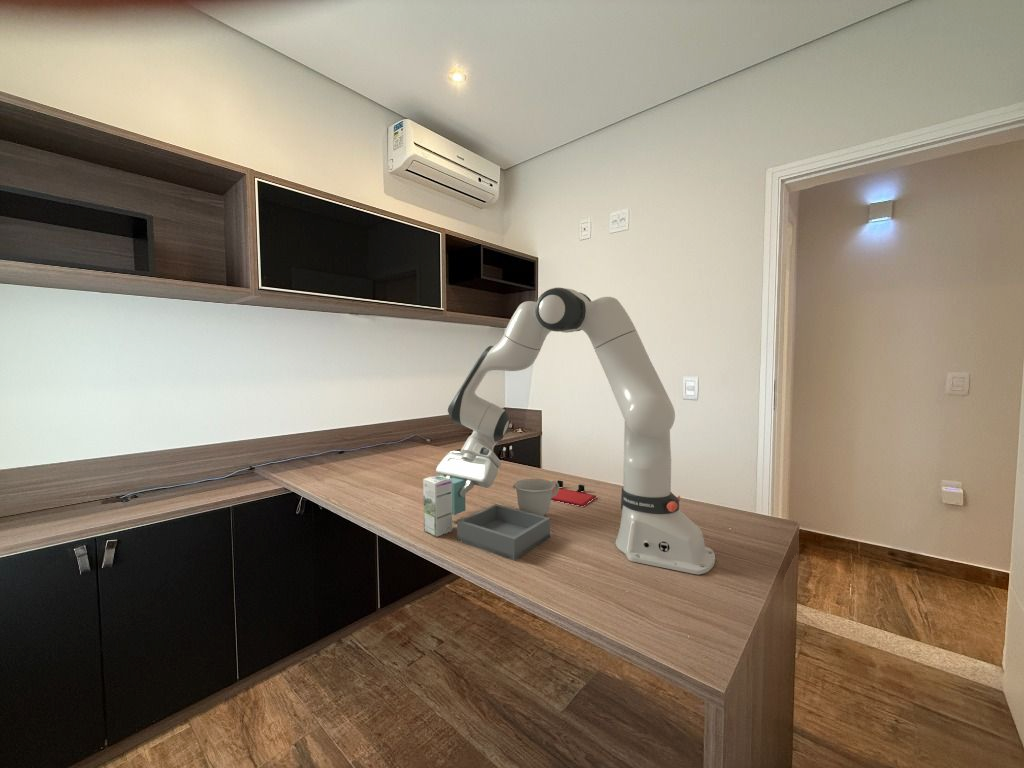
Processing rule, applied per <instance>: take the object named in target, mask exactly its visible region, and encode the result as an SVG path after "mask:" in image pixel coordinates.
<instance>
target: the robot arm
mask: <svg viewBox="0 0 1024 768" xmlns="http://www.w3.org/2000/svg"><path fill="white" fill-rule="evenodd" d="M580 331H583V332H584V333H585V334H586V335H587V337H588V338H589V340H590V343H591V345H592V347H593V349H594V352H595V354H596V356H597V358H598V360H599V363H600V365H601V367H602V370H603V371H604V374H605V377H606V378H607V381H608V383H609V385H610V386H609V387H610V388H611V391H612V393H613V395H614V398H615V400H616V403H617V405H618V407H619V410H620V412H621V414H622V417H623V419H624V433H623V434H624V435H623V436H624V438H623V444H624V445H623V480H622V481H623V482H622V483H623V486H622V488H621V493H620V510H621V518H620V525H619V530H618V534H617V536H616V540H615V546H616V548H617V549H618V550H619V551H620V552H622V553H623V554H624V555H625V556H626V558H627V559H628V560H629V561H630V562H632V563H633V562H634V563H639V564H645V565H648V566H653V567H659V568H664V569H668V570H673V571H678V572H683V573H686V574H693V575H703V574H706V573H708V572H710V570H712V569H713V568H714V567H715V564H716V555H715V552H714V550H713V549H712V548H711V547H708V546H706V544H705V539H704V535H703V531H702V530H701V528H700V526H699V525H698V524H696V523H695V522H694V521H692V520H691V519H690V518H689V517H688V516H687V515H686V514H684V513H683V512H682V511H681V510H680V502H681V496H680V495H678V496H676V495H675V494H673V493H672V491H671V489H672V488H671V487H672V485H671V484H672V456H671V455H672V454H671V453H672V452H671V429H672V428H673V426H674V423H675V420H676V412H675V408H674V405H673V403H672V401H671V399H670V397H669V394H668V393H667V391H666V389H665V387H664V385H663V382H662V381H661V378H660V377H659V375H658V373H657V371H656V369H655V367H654V365H653V363H652V361H651V358H650V357H649V354H648V352H647V350H646V348H645V345H644V343H643V342H642V339H641V337H640V335H639V332H638V330H637V328H636V327H635V325H634V323H633V321H632V319H631V317H630V315H629V314H628V312H627V311H626V309H625V307H624V306H623V305H622V303H621V302H620V301H619V299H617V298H615V297H612V296H602V297H599V298H596V299H594V300H591V298H590V297H588V295H586V294H584V293H583V292H579V291H577V290H575V289H572V288H565V287H564V288H563V287H552V288H549V289H547V290H546V291H544V292H543V293H541V294H540V296H539V297H537V301H532V300H528V301H523V302H522V303H520V304H519V305H518V306H517V308H516V310H515V311H514V313H513V315H512V316H511V318H510V320H509V321H508V324H507V326H506V329H505V330H504V333H503V336H502V337H501V339H500V340H499V341H498V342H497V343H496V344H495V345H489V346H488V347H487V348H485V349H484V351H483V352H481V354H480V355H479V357H478V358H477V361H476V362H475V364H474V365H473V367H472V368H471V370H470V371H469V373H468V375H467V376H466V378H465V380H464V382H462V385H461V387H460V388H459V389H458V391H457V392H456V394H455V395H454V396H453V398H452V399H451V400H450V402H449V404H448V408H447V414H448V416H449V417H450V419H451V422H452V423H455V424H458V425H460V426H464V427H466V428H467V429H468V428H469V430H471V431H472V433H471V435H469V436H468V438H467V439H466V440H465V442H464V443H463V446H462V447H461V449H460V450H452V451H449V452H448V453H447V454H446V455H445V456H444V457H443V458H442V459H441V460H440V462H439V463H438V465H437V467H436V468H435V472H436V474H437V475H440V476H444V477H447V478H453V477H455V478H460V479H464V480H465V486H464V487H463V488H462V489H461V488H460V489H459V491H458V493H457V494H458V495H459V496H461V497H464V496H465V497H466V495H467V493H469V492H470V491H471V490H472V489H474V486H477V487H482V488H487V489H488V488H490V487H492V485H493V483H494V481H495V479H496V477H497V475H498V471H499V468H500V467H501V465H502V461H501V460H500V459H499V457H498V456H497V455H496V453H495V452H494V448H495V446H496V445H497V444H498V443H499V442H500V441H502V440H503V439H504V436H505V435H506V433H507V431H508V429H509V427H510V425H511V419H510V416H509V413H508V411H507V410H506V409H505V408H502V407H501V406H499V405H497V404H495V403H493V402H489V401H487V400H486V399H485V398H482V397H480V396H478V395H477V394H476V391H477V390H478V387H479V385H480V384H481V383H482V381H483V379H484V378H485V376H486V375H487V373H489V372H491V371H507V372H519V371H523V370H526V369H528V368H529V367H531V366H532V365H534V363H535V361H536V360H537V357H538V356H539V354H540V352H541V350H542V348H543V344H544V342H545V340H546V338H547V336H548V335H549V334H550V333H551V332H556V333H557V332H561V333H567V334H568V333H573V332H580Z"/></svg>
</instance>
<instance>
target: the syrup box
mask: <svg viewBox="0 0 1024 768" xmlns="http://www.w3.org/2000/svg"><path fill="white" fill-rule="evenodd" d="M422 484H423V487H422V488H423V489H422V490H423V531H424V532H425V533H427V534H429V535H431V536H433V537H435V538H436V537H437V538H438V537H441V536H444V535H446V534H449V533H451V532H453V515H452V479H450V478H447V477H444V476H440V475H438V474H437V475H432V476H428V477H425V478H422ZM448 532H449V533H448ZM443 534H444V535H443Z"/></svg>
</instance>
